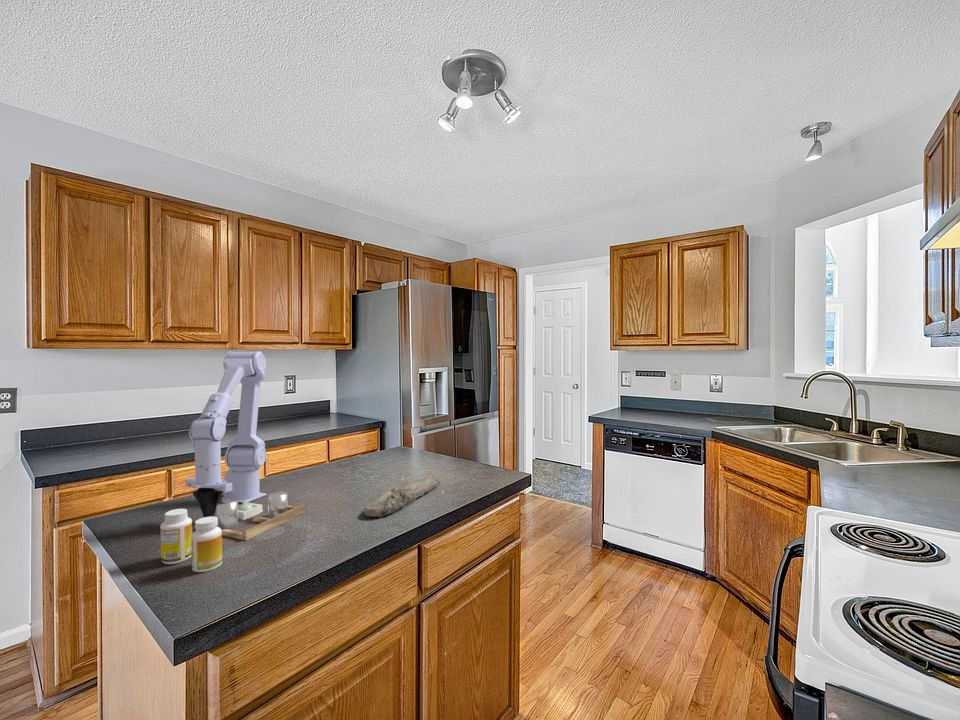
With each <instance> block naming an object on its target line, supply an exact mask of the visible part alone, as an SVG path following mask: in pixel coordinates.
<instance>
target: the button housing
mask: <svg viewBox="0 0 960 720" xmlns="http://www.w3.org/2000/svg"><path fill="white" fill-rule="evenodd" d="M246 503H249V502H246ZM250 503H251V504H253V508H251V509H249V510H246V511H240V510H238V520H242V521H245V520H247V519H251V518H253V517H254V516H258V515H259V514H262V513H263V511H264V509H263V508H264V507H263V504H259V503H253V502H250ZM241 504H245V503H241ZM241 504H240V503H239V505H241ZM261 512H262V513H261Z"/></svg>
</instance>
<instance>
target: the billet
mask: <svg viewBox="0 0 960 720" xmlns="http://www.w3.org/2000/svg"><path fill="white" fill-rule="evenodd" d="M238 505H239V502H238V500H237V499H226V500H222V499H221V500H219V501H218V502H217V503H216V511H215V515H216V516H215V517H217V518H218V525H217V527H219V528H221V530H223V529H227V528H229V529H232V528H231V527H233V528H235V527H237V526H238V525H239V519H238ZM236 525H237V526H236ZM234 526H235V527H234Z"/></svg>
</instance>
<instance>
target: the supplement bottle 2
mask: <svg viewBox="0 0 960 720" xmlns="http://www.w3.org/2000/svg"><path fill="white" fill-rule="evenodd" d="M217 525H218V518H217V517H216V516H212V517H202V518H201V517H200V518H199V519H197V520H195V522H194V528H195V531H192V536H191V557H190V558H191V570H192V572H195V573H205V572H209V571H213V570H215V569H217V568H219V567H220V566H221V565H222V564H223V536H222V530H223V529H221V528H219V527H217Z"/></svg>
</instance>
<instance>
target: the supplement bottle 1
mask: <svg viewBox="0 0 960 720" xmlns="http://www.w3.org/2000/svg"><path fill="white" fill-rule="evenodd" d="M159 529H160V558H161V562H162V563H163V564H165V565H175V564H180V563H183V562H185V561H187V560H189V559H190V558H191V536H192V534H193V519H192V518H191V517H189V516H188V510H187V509H186V508H175V509H170V510H169V511H167V512H165V513H164V521H162V523H161V524H160V528H159Z"/></svg>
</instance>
